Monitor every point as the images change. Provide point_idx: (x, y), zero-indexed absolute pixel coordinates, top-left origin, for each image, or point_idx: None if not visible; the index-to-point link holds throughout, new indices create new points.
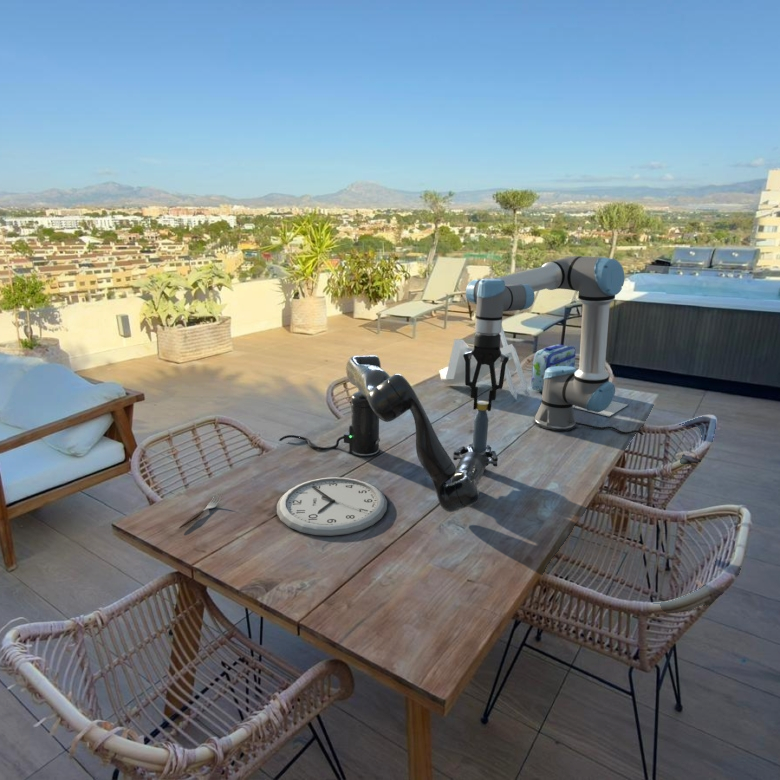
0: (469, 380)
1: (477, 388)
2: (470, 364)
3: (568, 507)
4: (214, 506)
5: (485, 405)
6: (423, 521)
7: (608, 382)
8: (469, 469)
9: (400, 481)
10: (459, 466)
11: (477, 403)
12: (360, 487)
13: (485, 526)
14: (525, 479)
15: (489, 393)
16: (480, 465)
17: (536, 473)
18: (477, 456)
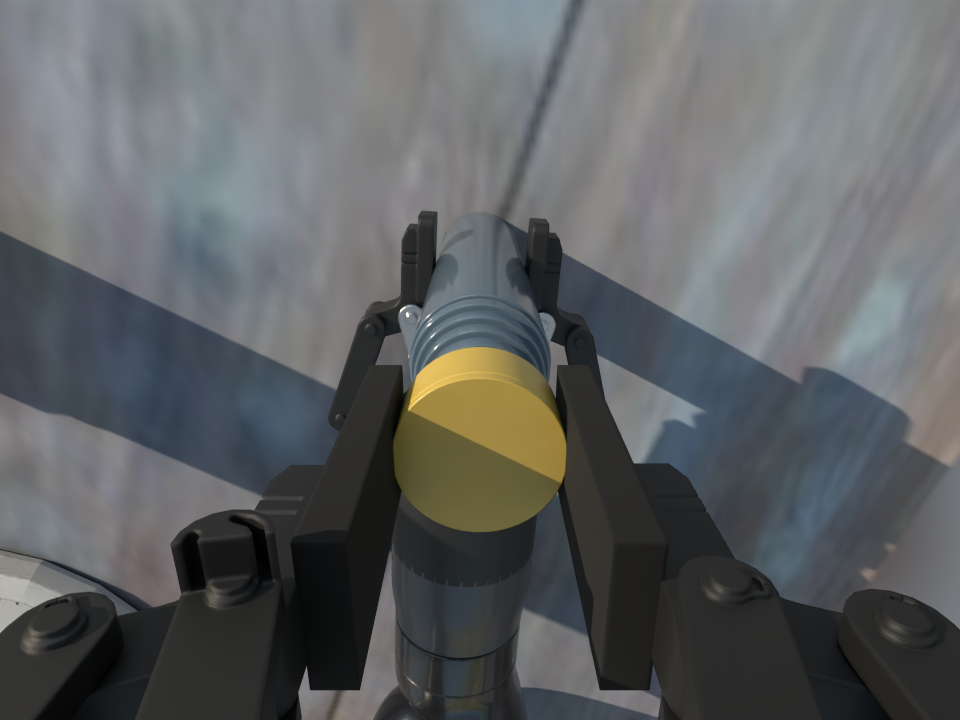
0: (68, 698)
1: (355, 649)
2: None
3: (892, 497)
4: None
5: (524, 512)
6: (348, 709)
7: None
8: (471, 697)
9: (147, 485)
10: (412, 648)
11: (413, 504)
12: (25, 611)
13: (556, 686)
14: (740, 290)
15: (594, 639)
16: (518, 593)
17: (815, 195)
18: (494, 558)
